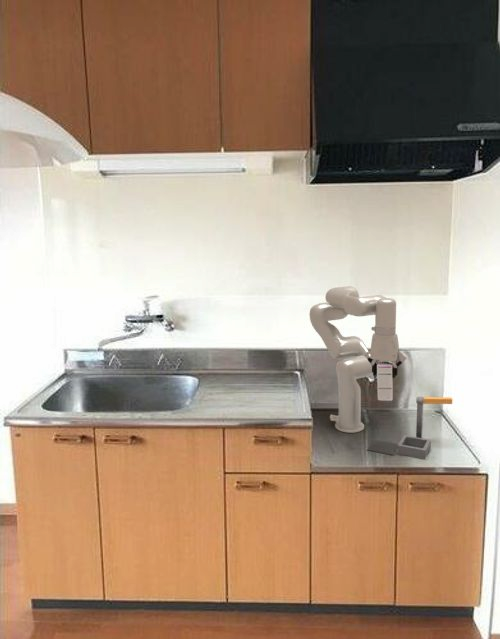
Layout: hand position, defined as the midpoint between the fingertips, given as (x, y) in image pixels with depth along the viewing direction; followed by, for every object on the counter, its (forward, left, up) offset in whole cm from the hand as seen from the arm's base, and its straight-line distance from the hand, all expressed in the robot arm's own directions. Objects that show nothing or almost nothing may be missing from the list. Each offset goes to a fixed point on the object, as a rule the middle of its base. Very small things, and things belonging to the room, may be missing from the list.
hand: (384, 375), depth 192 cm
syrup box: (0, 0, -10) cm, 10 cm away
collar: (+11, +2, -30) cm, 32 cm away
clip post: (+11, +11, -30) cm, 34 cm away
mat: (0, 0, -30) cm, 30 cm away
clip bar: (+16, +13, -13) cm, 25 cm away
